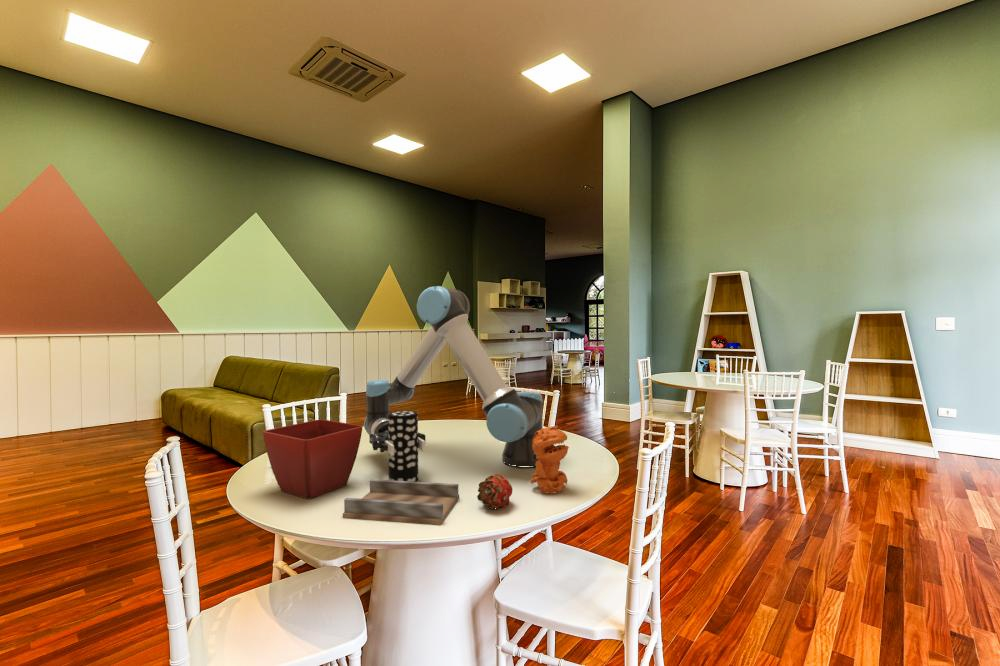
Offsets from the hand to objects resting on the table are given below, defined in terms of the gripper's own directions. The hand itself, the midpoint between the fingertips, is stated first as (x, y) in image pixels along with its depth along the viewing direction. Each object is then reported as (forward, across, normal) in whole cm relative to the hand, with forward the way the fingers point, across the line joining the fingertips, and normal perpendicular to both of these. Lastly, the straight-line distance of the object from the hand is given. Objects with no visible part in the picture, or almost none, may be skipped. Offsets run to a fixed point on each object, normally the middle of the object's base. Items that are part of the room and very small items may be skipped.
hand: (408, 448), depth 126 cm
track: (+13, +6, -11) cm, 18 cm away
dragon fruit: (+23, -14, -11) cm, 30 cm away
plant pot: (-13, +23, -11) cm, 29 cm away
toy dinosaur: (+22, -33, -11) cm, 41 cm away
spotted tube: (-5, 0, -11) cm, 12 cm away
